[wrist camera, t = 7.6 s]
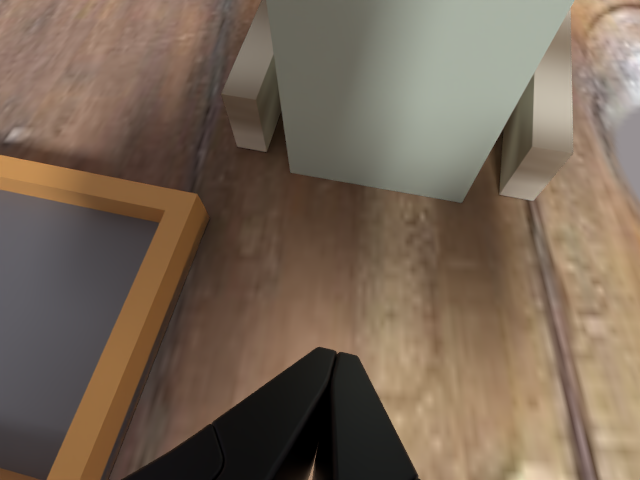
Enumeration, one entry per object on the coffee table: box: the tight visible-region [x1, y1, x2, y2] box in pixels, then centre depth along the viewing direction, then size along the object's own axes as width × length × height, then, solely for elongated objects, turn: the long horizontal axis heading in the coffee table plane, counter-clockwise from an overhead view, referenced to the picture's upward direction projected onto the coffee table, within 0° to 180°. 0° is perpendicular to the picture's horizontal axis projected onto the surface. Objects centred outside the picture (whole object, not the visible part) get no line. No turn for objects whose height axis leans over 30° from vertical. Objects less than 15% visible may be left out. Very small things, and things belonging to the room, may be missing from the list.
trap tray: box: [0, 155, 210, 480], centre depth 17 cm, size 12×12×2 cm
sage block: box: [266, 0, 574, 203], centre depth 17 cm, size 8×8×11 cm
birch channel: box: [221, 0, 573, 201], centre depth 21 cm, size 12×14×4 cm
